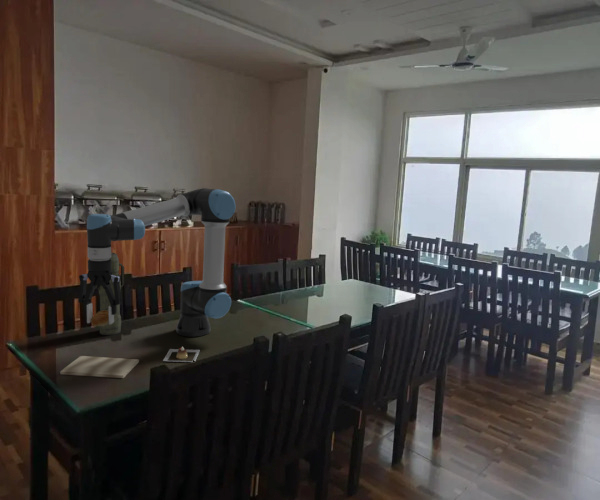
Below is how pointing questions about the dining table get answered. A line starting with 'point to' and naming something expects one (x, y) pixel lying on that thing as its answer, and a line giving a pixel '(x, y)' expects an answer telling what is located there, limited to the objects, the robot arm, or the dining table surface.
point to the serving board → (100, 367)
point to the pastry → (101, 318)
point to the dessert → (181, 354)
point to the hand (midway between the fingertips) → (100, 322)
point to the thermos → (104, 300)
